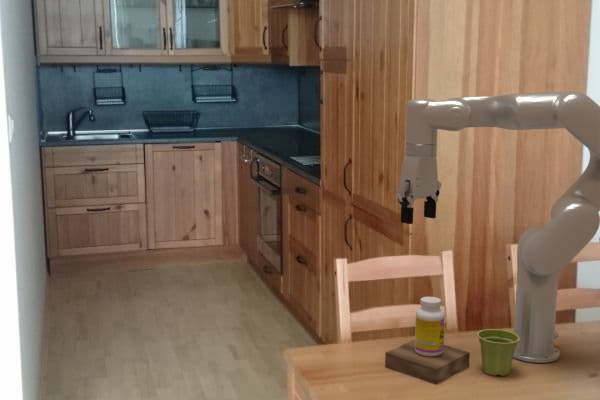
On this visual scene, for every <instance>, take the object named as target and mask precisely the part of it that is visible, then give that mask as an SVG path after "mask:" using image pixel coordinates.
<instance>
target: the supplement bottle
mask: <svg viewBox="0 0 600 400" xmlns="http://www.w3.org/2000/svg"><path fill="white" fill-rule="evenodd" d="M441 306H442V300H441V298H439V297H436V296H422V297H421V298H420V308H418V309H417V310H416V311H415V328H414V329H415V330H414V340H415V351H416V353H418V354H420V355H423V356H430V357H433V356H439V355H441V354H442V353H443V345H445V344H444V343H445V342H444V340H445V338H444V337H445V317H446V315H445V312H444V311H443V310H442V309H441Z"/></svg>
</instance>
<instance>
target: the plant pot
mask: <svg viewBox="0 0 600 400" xmlns="http://www.w3.org/2000/svg"><path fill="white" fill-rule="evenodd" d="M476 335H477V338H478V340H479V344H480V353H481V354H480V356H481V366H482V367H481V368H482V370H483V372H484V373H486V374H488V375H489V376H494V377H495V376H502V377H504V376H508V375H509V374H510V373H511V368H512V364H513V358H514V357H513V355H514V351H515V347H516V346H517V342H518V341H519V339H520V338H519V336H518V335H516V334H515V333H514V332H512V331H510V330H509V331H508V330H505V329H499V328H495V329H494V328H486V329H481V330H479V331H478V332H477V333H476Z"/></svg>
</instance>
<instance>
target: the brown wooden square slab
mask: <svg viewBox="0 0 600 400" xmlns="http://www.w3.org/2000/svg"><path fill="white" fill-rule="evenodd" d="M470 353H471V352H470V351H467V350H462V349H460V348H456V347H454V346H450V345H446V344H443V353H442V354H441V355H439V356H433V357H430V356H423V355H420V354H418V353H416V351H415V339H414V340H411V341H409V342H406V343H404V344H402V345H400V346H398V347H395V348H393V349H390V350H388V351H386V352H385V354H384V355H385V356H384V358H385V360H384V361H385V363H384V365H385V366H384V367H385V368H387V369H391V370H393V371H396V372H399V373H402V374H405V375H408V376H411V377H414V378H418V379H420V380H422V381H424V382H428V383H431V384H435V385H437V384H439V383H440V382H442V381H445V380H446V379H448V378H450V377H453V376H454V375H455V374H458V373H460V372H461V371H464V370H466V369H467V368H469V367H470V356H471V355H470Z"/></svg>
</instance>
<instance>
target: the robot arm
mask: <svg viewBox="0 0 600 400" xmlns="http://www.w3.org/2000/svg"><path fill="white" fill-rule="evenodd" d="M405 116H406V117H405V119H406V120H405V146H404V148H405V149H404V156H403V159H402V163H401V167H400V168H401V169H400V179H399V187H398V188H397V190H396V191H395V192H396V196H397V202H398V203H399V207H400V223H402V224H406V225H407V224H408V225H413V223H414V207H412V206H413V205H414V203H415V200H419V199H423V198H425V200H424V204H423V217H424V218H428V219H432V220H433V219H436V218H437V203H438V201H439V199H438V197H439V196H440V191H441V187H442V182H441V181H439V179H438V161H437V155H438V154H437V152H438V130H442V131H449V132H461V131H462V130H464V129H466V128H498V129H499V128H500V129H502V130H503V129H504V130H510V131H526V130H527V131H529V130H530V131H531V130H550V129H551V130H555V129H565V130H566V131H567V132H568V133H570V134H571V135H572V137H574V138H575V139H576V140H578V142H580V143H581V144H582V145H583V146H584V147H585V148H586V149H588V152H589V159H588V160H589V161H588V163H587V166H586V168H585V170H584V171H582V173H581V175H580V176H579V177H578V178H577V180H575V182H573V184H572V185H570V187H569V188H568V189H567V190H566V191H565V192H564V193H563V194H562V195H561V196H560V198H558V199H557V200H556V201H555V202H554V203H553V205H552V207H551V210H550V219H551V220H550V221H549V222H548V223H547V224H546V225H545V226H539V225H538V226H532V227H530V228H527V229H526V230H524V232H522V234H521V235H520V237H519V238H518V242H517V249H516V251H517V252H516V262H517V263H516V264H517V265H516V269H517V270H516V271H517V272H516V287H515V289H516V290H515V304H514V319H513V320H514V321H513V333H515V334H516V335H518V336H519V338H520V339H519V341H518V342H517V346H516V347H515V351H514V355H513V358H514V359H516V360H520V361H522V362H529V363H537V364H539V363H540V364H544V363H545V364H546V363H547V364H548V363H551V362H555V361H557V360H558V359H559V358H560V356H561V354H560V353H561V352H560V350H559V349H558V348H557V347H555V345H554V344H555V340H556V339H557V338H558V337H559V332H558V331H556V330H555V328H556V317H557V303H558V302H557V299H558V288H559V273H560V272H561V271H562V270H564V268H566V267H567V266H568V265H569V264H570V263H571V262H572V260H574V259H575V257H577V256H578V254H579V253H580V252H581V251H582V250H583V249H584V248H585V247H586V246H587V245H588V244H589V243H590V242H591V241H592V240H593V238H594V237H595V236H596V234H597V233H598V231H599V228H600V105H599V104H598V103H597V102H596V101H595V100H593V98H591V97H589V96H588V95H587V94H585V93H582V92H578V91H572V90H571V91H569V90H568V91H566V90H565V91H547V92H526V93H525V92H523V93H521V92H520V93H507V94H501V95H489V96H488V95H487V96H485V95H483V96H463V97H451V98H448V99H446V100H435V99H430V98H429V99H428V98H414V99H412V98H411V99H410V100H408V102H407V103H406V115H405Z"/></svg>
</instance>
